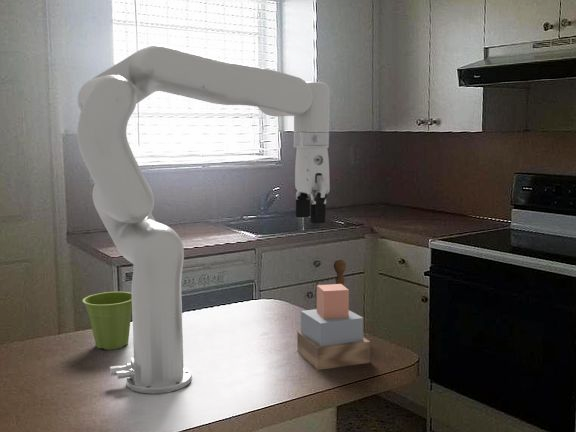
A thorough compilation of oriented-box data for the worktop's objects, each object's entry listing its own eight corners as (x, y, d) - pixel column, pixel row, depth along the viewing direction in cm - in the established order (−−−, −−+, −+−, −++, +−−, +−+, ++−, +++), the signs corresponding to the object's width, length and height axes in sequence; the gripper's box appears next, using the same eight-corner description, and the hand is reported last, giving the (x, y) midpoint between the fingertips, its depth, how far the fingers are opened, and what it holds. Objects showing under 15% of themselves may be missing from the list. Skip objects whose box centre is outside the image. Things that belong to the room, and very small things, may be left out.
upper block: (320, 346, 137) (320, 323, 136) (301, 332, 146) (301, 311, 146) (363, 340, 141) (363, 317, 140) (341, 327, 150) (341, 306, 149)
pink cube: (323, 319, 139) (323, 291, 139) (316, 311, 145) (316, 285, 144) (348, 317, 141) (348, 289, 140) (340, 310, 146) (340, 283, 145)
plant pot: (120, 333, 161) (118, 288, 159) (147, 345, 153) (146, 297, 151) (75, 345, 153) (72, 297, 151) (101, 357, 144) (99, 307, 143)
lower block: (317, 371, 137) (317, 348, 136) (297, 352, 148) (297, 331, 147) (370, 364, 141) (370, 341, 140) (346, 346, 152) (346, 325, 151)
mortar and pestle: (358, 332, 161) (359, 260, 159) (342, 338, 156) (342, 264, 154) (337, 326, 166) (337, 256, 163) (320, 332, 161) (320, 260, 158)
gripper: (342, 141, 135) (340, 225, 137) (314, 140, 151) (312, 214, 153) (307, 141, 132) (306, 226, 135) (282, 140, 149) (281, 215, 151)
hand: (309, 219), depth 144 cm, fingers open, 9 cm apart
